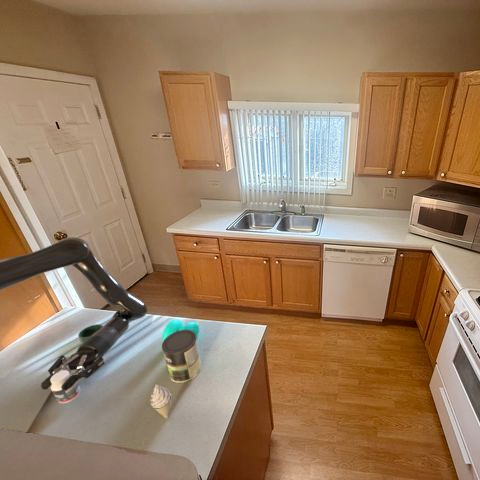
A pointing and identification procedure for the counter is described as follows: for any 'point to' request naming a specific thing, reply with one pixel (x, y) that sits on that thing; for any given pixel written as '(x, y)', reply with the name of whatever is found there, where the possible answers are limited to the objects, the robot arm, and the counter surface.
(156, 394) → the ice cream cone
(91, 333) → the tin
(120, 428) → the counter surface
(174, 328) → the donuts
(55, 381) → the pill bottle
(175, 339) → the coffee can
